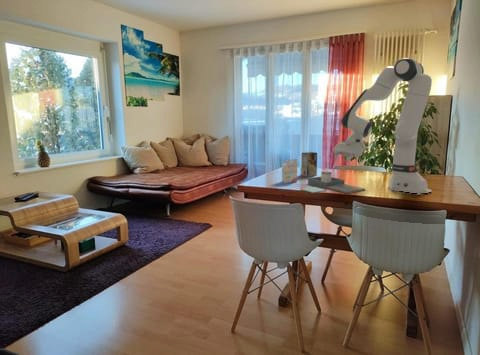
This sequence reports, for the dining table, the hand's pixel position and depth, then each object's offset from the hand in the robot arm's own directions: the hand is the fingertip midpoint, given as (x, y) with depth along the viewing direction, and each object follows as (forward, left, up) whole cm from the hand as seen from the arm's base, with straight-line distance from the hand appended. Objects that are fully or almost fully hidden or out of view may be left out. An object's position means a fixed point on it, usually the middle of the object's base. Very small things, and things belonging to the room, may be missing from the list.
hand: (341, 159), depth 210 cm
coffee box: (+29, -1, -15) cm, 32 cm away
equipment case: (-8, +12, -15) cm, 21 cm away
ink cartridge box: (+19, +25, -15) cm, 35 cm away
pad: (-7, +29, -15) cm, 34 cm away
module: (0, +12, -15) cm, 19 cm away
